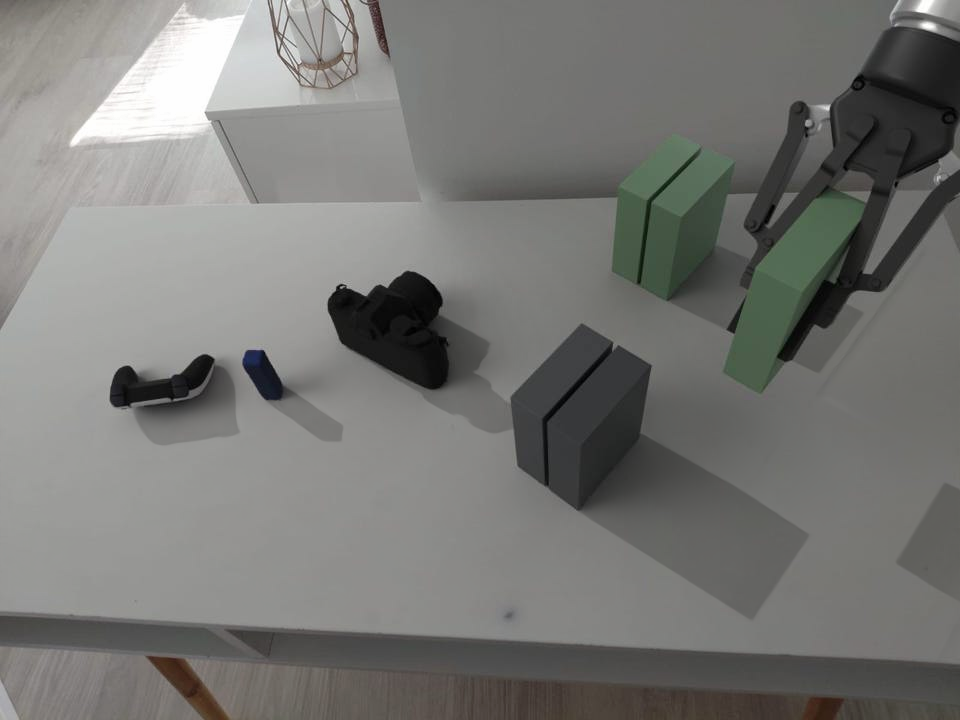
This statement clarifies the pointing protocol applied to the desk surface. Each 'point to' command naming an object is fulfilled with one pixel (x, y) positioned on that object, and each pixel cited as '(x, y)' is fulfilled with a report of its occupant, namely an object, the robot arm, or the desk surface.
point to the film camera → (395, 327)
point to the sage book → (790, 285)
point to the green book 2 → (685, 223)
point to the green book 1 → (645, 202)
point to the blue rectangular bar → (262, 374)
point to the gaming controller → (160, 385)
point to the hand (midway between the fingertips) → (759, 344)
